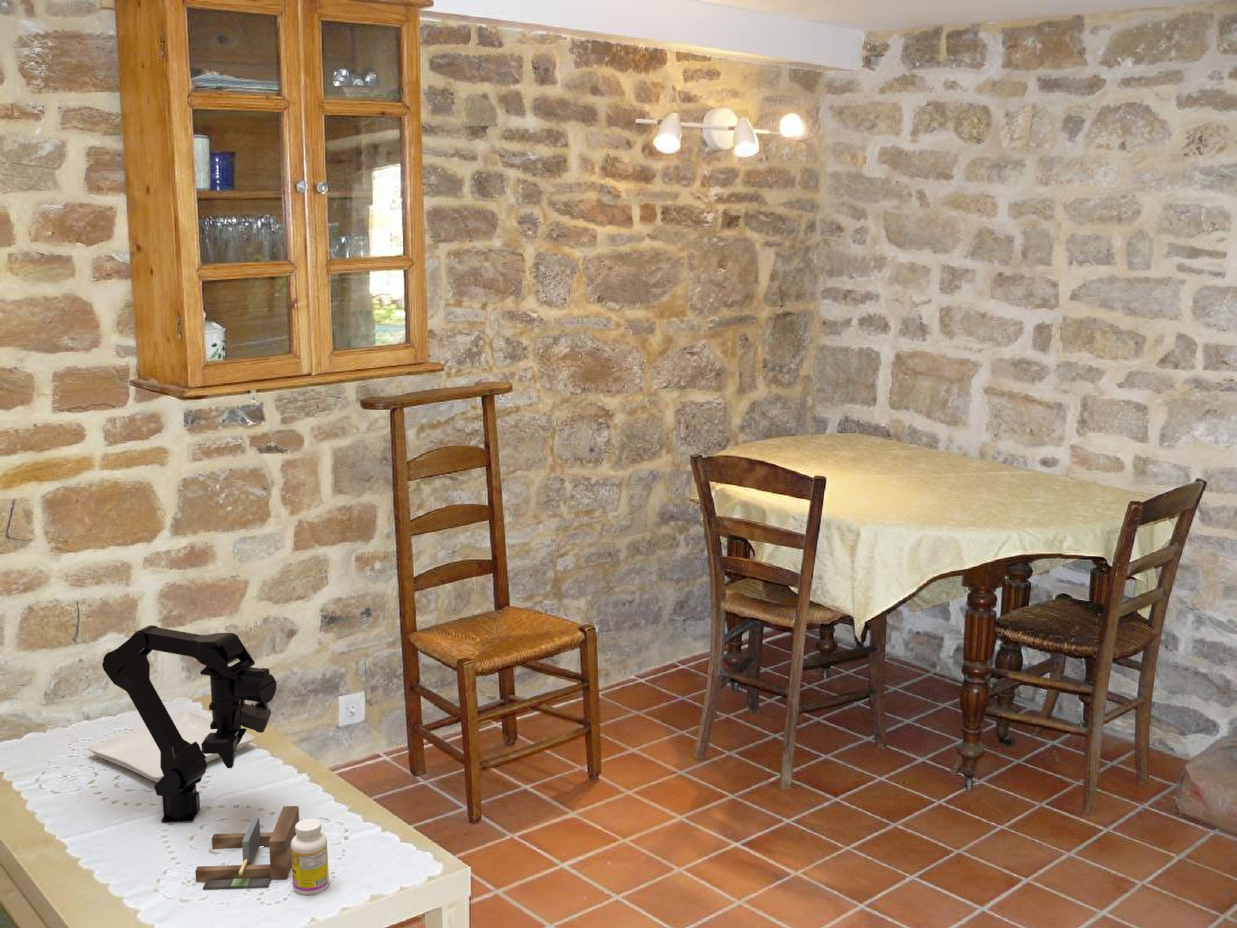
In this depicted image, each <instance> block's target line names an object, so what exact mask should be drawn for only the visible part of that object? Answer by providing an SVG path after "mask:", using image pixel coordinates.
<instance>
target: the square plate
mask: <svg viewBox="0 0 1237 928" xmlns="http://www.w3.org/2000/svg"><path fill="white" fill-rule="evenodd" d="M170 717H171V719H172V720H173V722H174V724H175V726H176V728H177V729H178V731H179V733H180V735H181V737H182V738H183V739H184V740H185V741H187V742H189V743H191V744H192V743H193V742H197V743H198V744H199V746H200V749H201V751H202V747H201V744H202V742H203V740H204V739H205V737H206V736H207V735H208V734H209V733H216V731H217V729H210V724H211V723H212V721H213V718H210V717H207V716H205V715H202V714H199V713H196V712H193V711H189V710H184V711H181V712H178V713H175V714H172V715H170ZM254 739H256V736H255V735H253V734H251V733H247V731H246V732H245V734H244V735H243V736H242V739H241V741H240V743H239V744H238V745H237V750H236V751H238V750H240V749H242V748H244V747H245V746H247V745H249V744H250V742H252V741H253V740H254ZM87 750H88V751H90V752H92V753H93V755H96V756H97V757H99V758H101V759H102V760H106V761H108V762H110V763H112V764H116V765H118V766H121V767H123V768H125V769H128V770H130V771H132V772H134V773H136V774H139V775H140V776H142V777H144V778H146V779H148V780H151V781H153V782H155V783H157V782H158V781H159V780H160V779H162V778H163V777H164V775H163V772H162V770H161V767H160V758H161V753H160V750H159V748H158V746H157V744H156V743H155V741H154V739H153V737H152V735H151V734H150V732H149V730H148V728H147V727H146V725H145V724H144V725H142V726H140V727H137V728H134V729H132V730H129V731H126V732H123V733H122V734H119V735H116V736H113V737H112V738H108V739H106V740H104V741H101V742H98V743H97V744H93V745H92V746H89V747H88V748H87ZM204 755H205V756H206V758H205V760H206V763H207V764H208V763H209V762H212V761H214V760H216V759H218V758H221V757H220V756H219V754H204Z"/></svg>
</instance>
